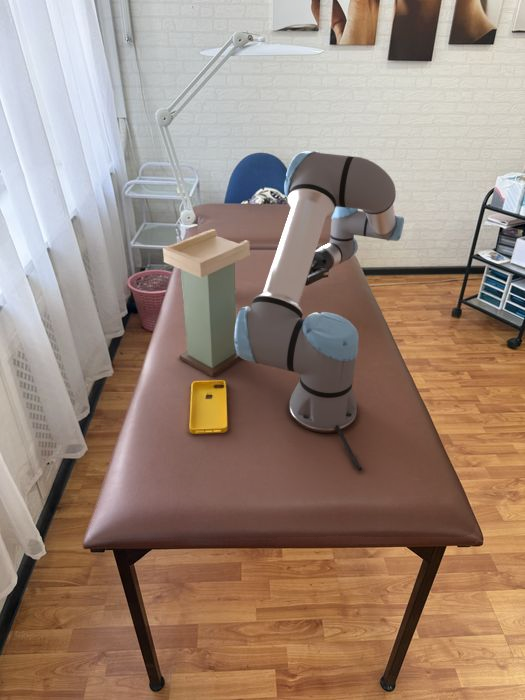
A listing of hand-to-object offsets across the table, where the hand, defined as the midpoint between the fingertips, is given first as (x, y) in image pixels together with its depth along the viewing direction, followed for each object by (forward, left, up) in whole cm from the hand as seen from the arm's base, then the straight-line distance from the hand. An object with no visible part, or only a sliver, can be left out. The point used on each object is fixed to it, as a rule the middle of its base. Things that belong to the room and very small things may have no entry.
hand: (277, 285), depth 144 cm
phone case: (-39, +20, -11) cm, 45 cm away
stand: (-19, +19, -11) cm, 29 cm away
